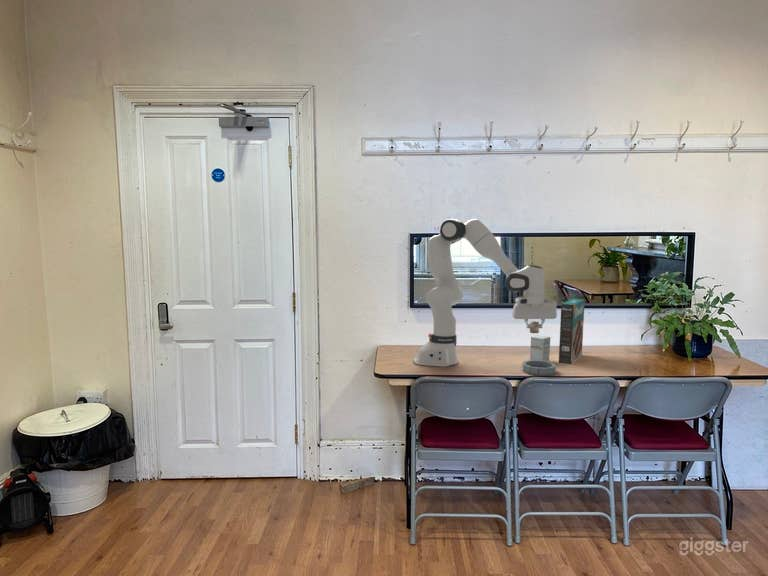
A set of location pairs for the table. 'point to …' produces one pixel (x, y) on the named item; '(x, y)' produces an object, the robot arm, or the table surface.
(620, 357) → the table surface
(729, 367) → the table surface
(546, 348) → the supplement box
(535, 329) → the wooden bead
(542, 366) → the round dish
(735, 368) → the table surface
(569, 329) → the cake mix box
